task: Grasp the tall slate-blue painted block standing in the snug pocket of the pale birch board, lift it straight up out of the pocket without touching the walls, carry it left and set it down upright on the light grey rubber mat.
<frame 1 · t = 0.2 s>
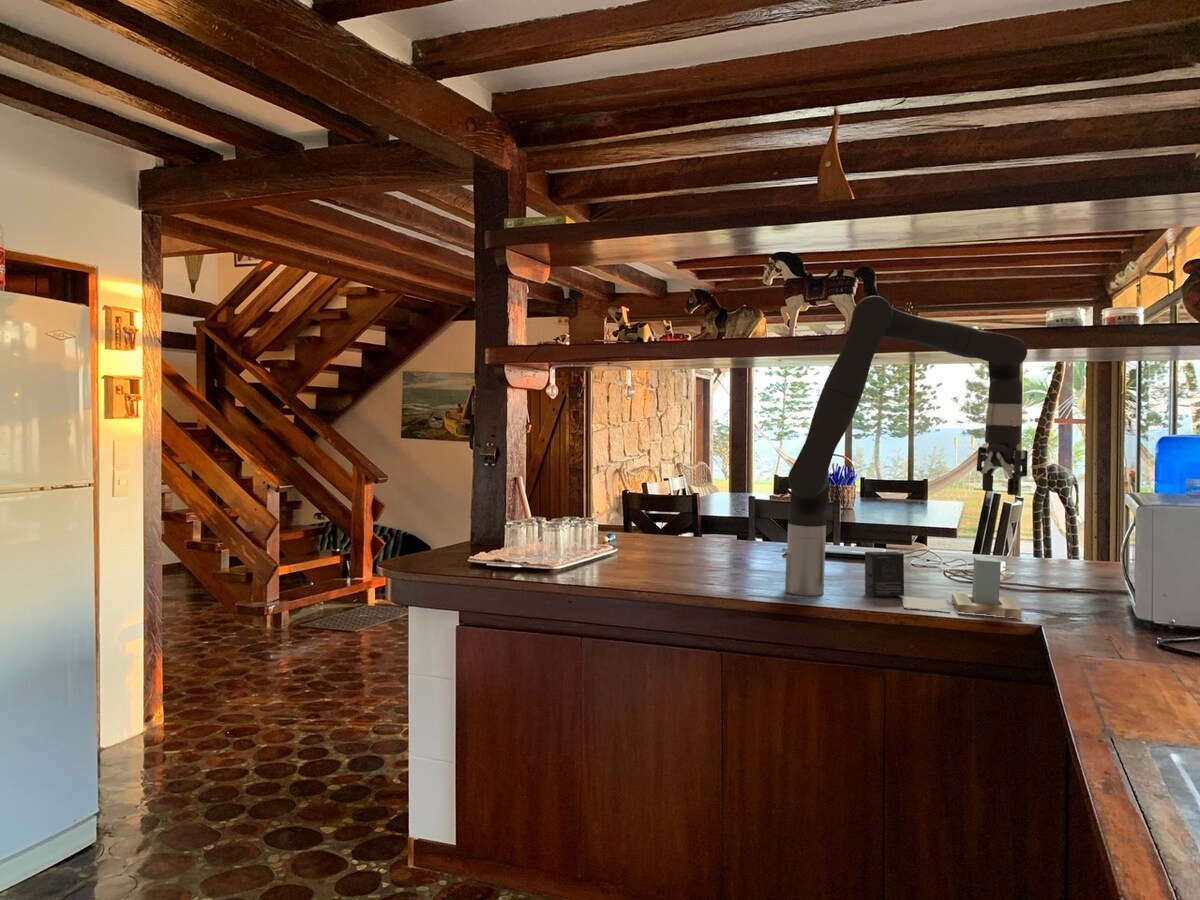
hand: (999, 492, 193), 27 cm above the countertop, fingers open, 8 cm apart
mat: (925, 605, 196), on the countertop
pocket board: (984, 610, 192), on the countertop
box: (884, 595, 205), on the countertop, touching mat
block: (986, 584, 192), in the pocket board
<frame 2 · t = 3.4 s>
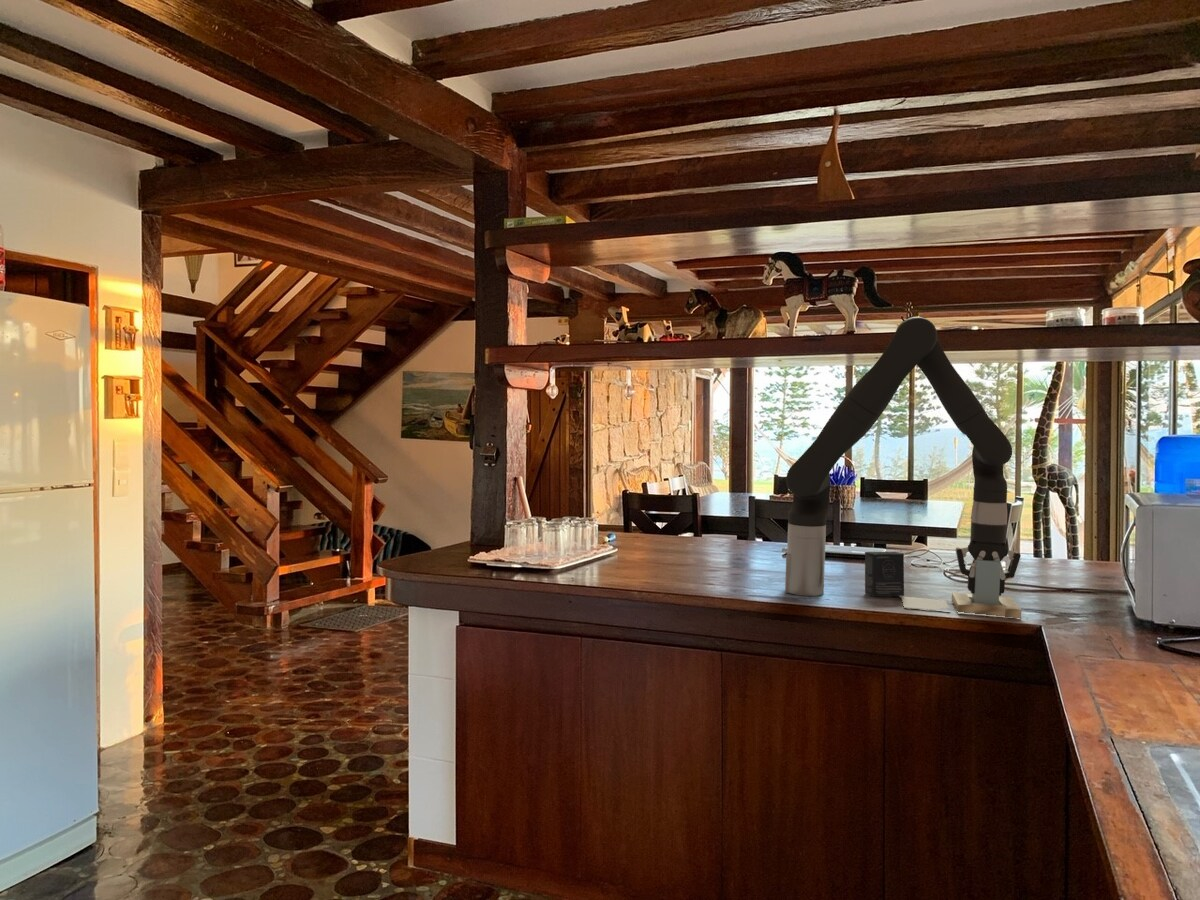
hand: (985, 593, 192), 4 cm above the countertop, fingers closed on block, 5 cm apart
block: (985, 584, 192), in the pocket board, touching gripper
everything else where it was.
when the fingers open (5 cm above the countertop, at t = 9.7 s): block stays where it is, resting on mat.
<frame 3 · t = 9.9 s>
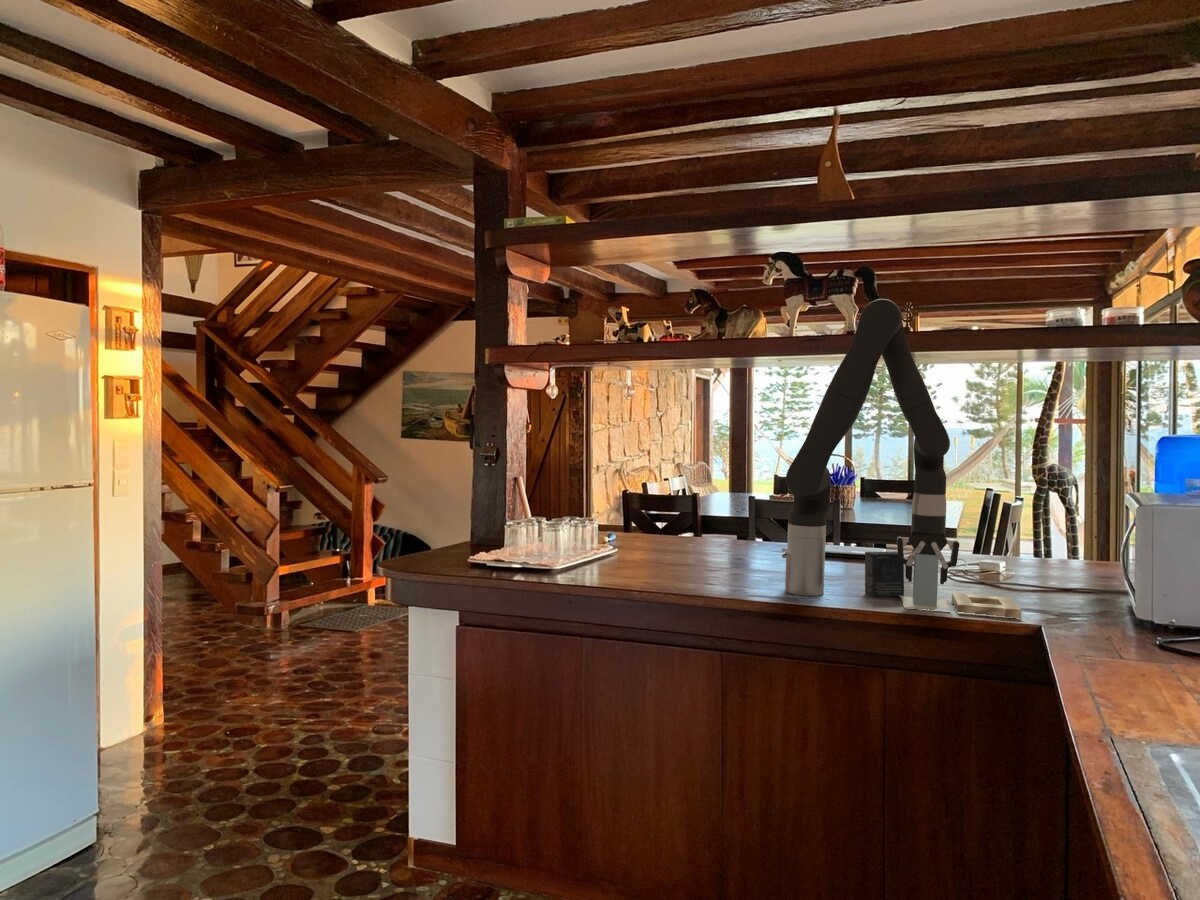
hand: (925, 582, 196), 5 cm above the countertop, fingers open, 6 cm apart
block: (925, 578, 196), on the mat
everything else where it was.
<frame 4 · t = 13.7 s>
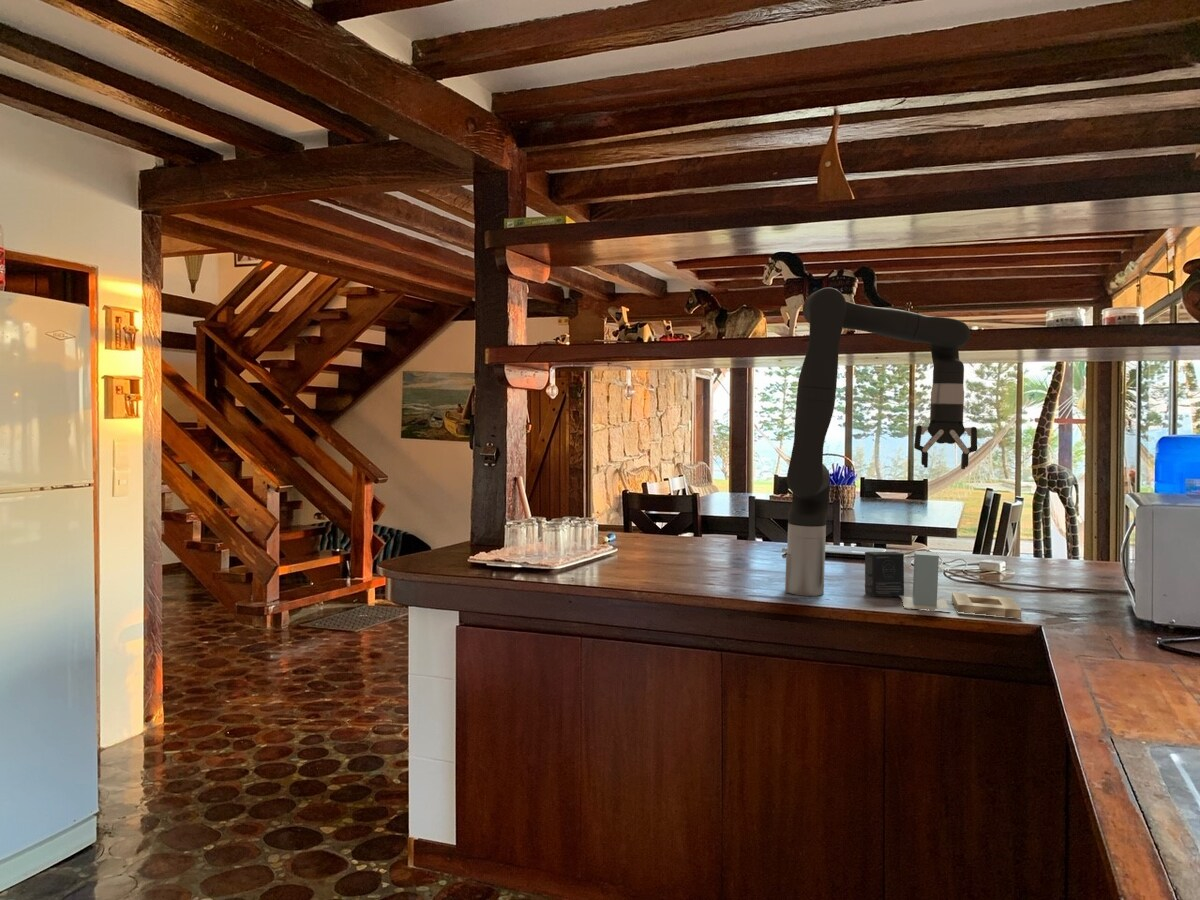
hand: (944, 468, 204), 32 cm above the countertop, fingers open, 8 cm apart
nothing on the countertop moved.
at the end: block inside the target area on the mat (0.1 cm from its centre), point 6.4 cm above the mat's base; block tilted 0°; the gripper is holding nothing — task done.
